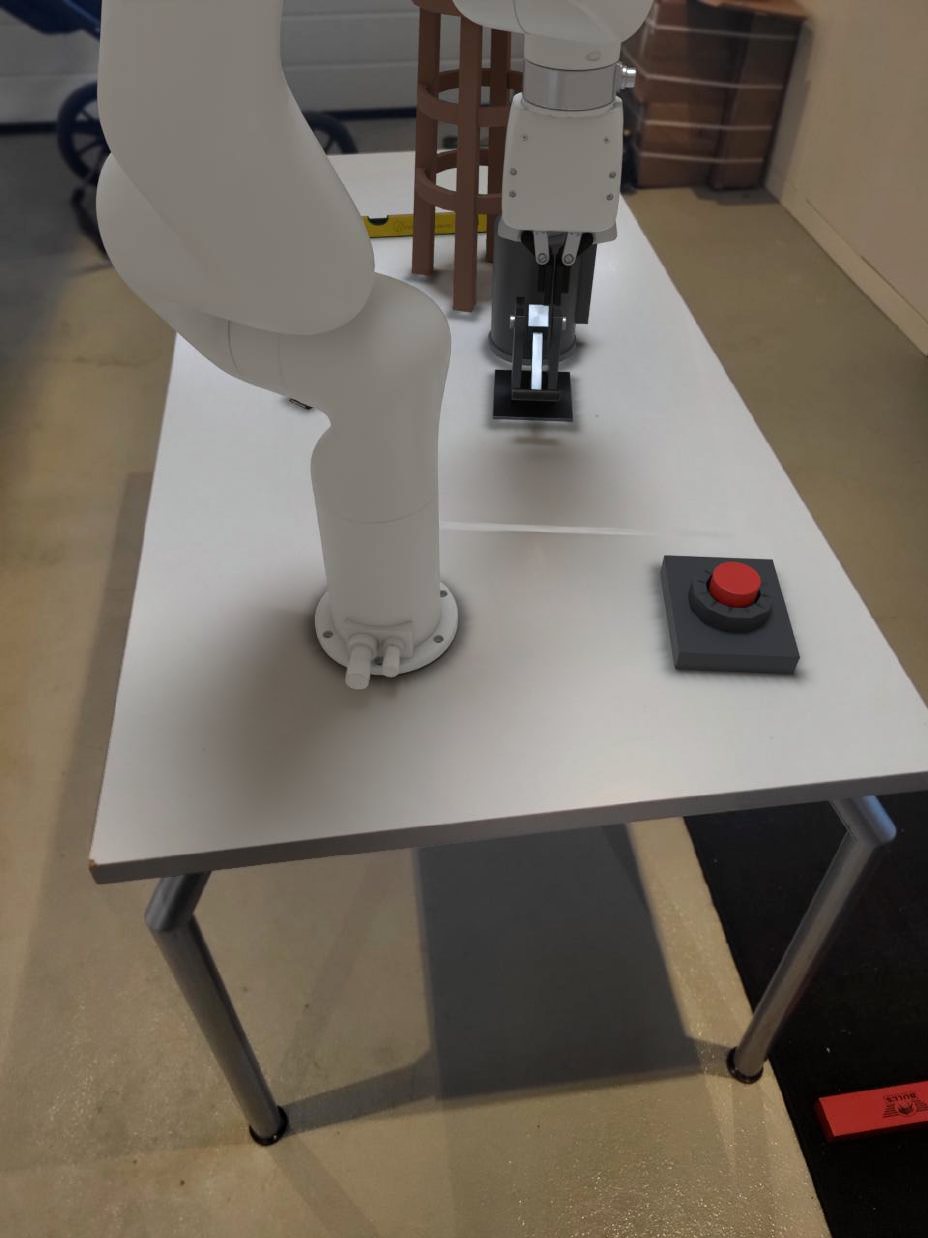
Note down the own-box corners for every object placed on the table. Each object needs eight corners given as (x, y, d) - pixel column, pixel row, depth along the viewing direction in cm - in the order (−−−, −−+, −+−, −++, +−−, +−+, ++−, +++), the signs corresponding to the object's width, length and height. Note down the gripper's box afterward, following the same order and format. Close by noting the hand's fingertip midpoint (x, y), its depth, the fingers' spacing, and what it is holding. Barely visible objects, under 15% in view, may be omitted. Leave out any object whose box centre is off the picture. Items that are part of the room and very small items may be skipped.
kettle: (586, 374, 107) (603, 235, 95) (486, 370, 107) (490, 232, 95) (581, 321, 116) (596, 188, 104) (489, 318, 116) (493, 185, 104)
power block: (793, 674, 75) (806, 642, 72) (674, 669, 75) (683, 637, 72) (766, 576, 83) (778, 544, 80) (660, 571, 83) (667, 540, 80)
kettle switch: (558, 406, 94) (560, 393, 91) (511, 404, 94) (512, 392, 91) (560, 319, 97) (562, 305, 95) (514, 317, 97) (515, 303, 95)
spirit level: (487, 228, 135) (488, 208, 133) (489, 232, 135) (489, 212, 132) (267, 239, 132) (264, 218, 130) (267, 243, 131) (264, 222, 129)
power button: (759, 609, 75) (764, 594, 74) (712, 607, 75) (716, 593, 74) (751, 576, 78) (756, 562, 76) (705, 575, 78) (710, 560, 77)
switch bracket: (572, 428, 99) (583, 331, 91) (492, 425, 100) (495, 328, 91) (569, 380, 106) (579, 286, 98) (494, 377, 106) (497, 283, 98)
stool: (430, -45, 106) (591, -33, 102) (434, 245, 131) (563, 263, 128) (374, -8, 93) (557, 7, 89) (391, 307, 118) (534, 328, 115)
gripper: (659, 70, 73) (628, 283, 86) (478, 66, 74) (476, 278, 87) (667, 100, 68) (632, 322, 81) (473, 95, 69) (471, 315, 82)
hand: (551, 298), depth 84 cm, fingers closed
